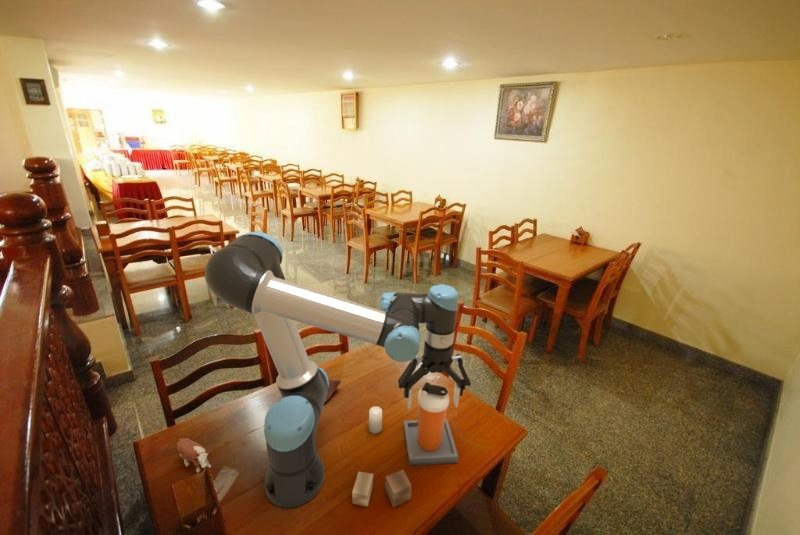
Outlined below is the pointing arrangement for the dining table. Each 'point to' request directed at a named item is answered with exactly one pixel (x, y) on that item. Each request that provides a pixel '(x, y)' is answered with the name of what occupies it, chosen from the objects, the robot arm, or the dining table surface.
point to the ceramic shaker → (375, 419)
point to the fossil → (332, 387)
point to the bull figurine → (193, 453)
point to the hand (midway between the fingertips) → (432, 404)
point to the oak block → (362, 488)
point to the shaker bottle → (431, 415)
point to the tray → (423, 457)
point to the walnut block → (398, 488)
